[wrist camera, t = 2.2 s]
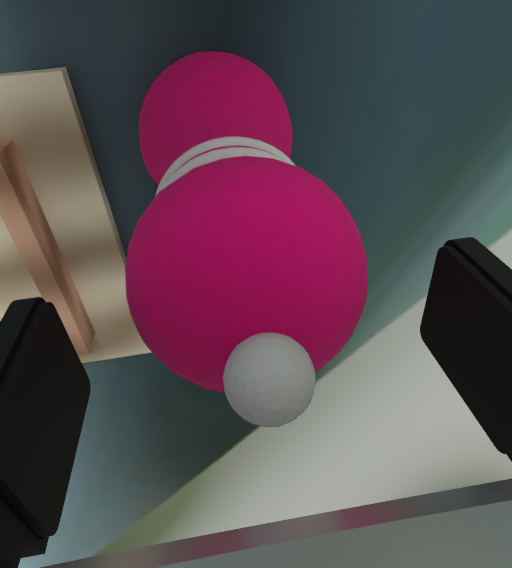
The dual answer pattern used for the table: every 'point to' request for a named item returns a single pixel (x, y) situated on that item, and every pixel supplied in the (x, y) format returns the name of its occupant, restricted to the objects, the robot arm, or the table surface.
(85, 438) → the table surface
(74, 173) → the board
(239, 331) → the pepper mill
